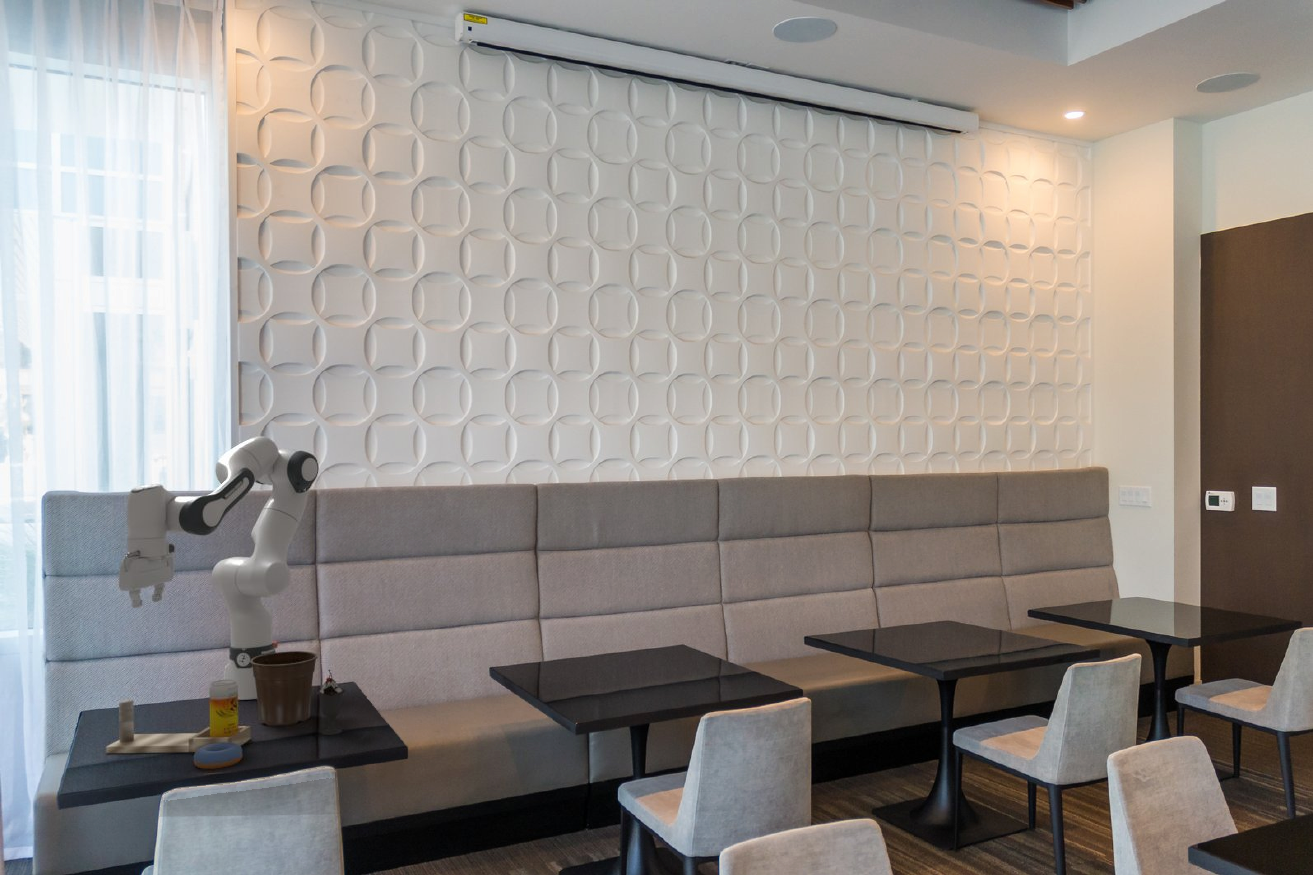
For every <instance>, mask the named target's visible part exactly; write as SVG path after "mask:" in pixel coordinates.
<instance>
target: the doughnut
mask: <svg viewBox="0 0 1313 875" xmlns="http://www.w3.org/2000/svg"><path fill="white" fill-rule="evenodd" d="M243 756H244V755H243V748H242V745H241V746H240V745H238V744H236V743H230V742H223V743H214V744H210V745H206V746H204V747H201V748H199V749H198V750H197V751H196V752H194V755H193V764H194V765H195V767H197V768H199V769H202V770H213V769H214V770H216V769H223V768H228V767H231V766H233V765H236V764H238V763H239V762H240V761H241V760H242V759H243Z"/></svg>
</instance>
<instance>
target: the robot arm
mask: <svg viewBox="0 0 1313 875" xmlns="http://www.w3.org/2000/svg"><path fill="white" fill-rule="evenodd" d="M318 475H319V463H318V459H317V458H316V456H315V455H314V454H312V453H310V452H308V451H304V450H295V449H289V448H288V449H287V448H281V449H280V448H279V449H278V446H277V444H276V443H275V441H273V440H272V439H270V438H269V437H266V436H263V435H260V436H259V435H258V436H254V437H251V438H249V439H247V440H245V441H243V442H241V443H239V444H238V445H236V446H234V447H233V448H232V449H230V450H228V451H227V452H225V454H223V455H222V456H221V457H220V458H219V459H218V461H217V462H216V464H215V476H216V478H217V480H218V482H219V483H220V484H219V486H218V487H217V488H216V489H215V490H214V491H213V492H211V493H210V494H206V495H200V496H199V495H197V496H183V495H182V496H181V495H180V496H179V495H177V494H174V493H173V492H170V491H168V490H167V489H166V488H164V486H163V485H162V484H158V483H150V484H142V485H138V486H135V487H134V488H132V489H131V490H130V492H129V494H128V498H127V504H126V523H127V526H128V533H127V536H126V553H125V556H124V557H123V560H122V561H121V563H120V565H119V566H120V567H119V576H118V588H119V590H120V591H121V592H129V593H128V595H129V598H130V599H131V603H132V604H131V606H132V608H137V609H138V608H141V607H143V599H142V598H141V593H142V592H141V591H142V590H141V589H145V588H149V587H153V588H154V591H153V594H152V595H151V598H152V599H151V601H152V602H153V603H158V602H161V601H162V600H163V592H164V589H165V585H166V584H165V583H168V582H171V581H173V578H174V576H175V567H176V566H175V555H174V554H175V553H176V550H177V546H176V544H174V543H172V542H170V541H168V540H167V534H179V535H180V534H183V535H184V534H187V535H189V534H190V535H194V536H195V535H196V536H207V535H210V534H212V533H214V532H215V531H216V530H217V529H218V528H219V526H220V525H221V523H222V521H223V519H225V516H226V515H227V514H228V512H230V510H231V509H233V508H234V507H235V505H237V504H238V503H239V502H240V501H241V500H242V499H243V498H244V497H245V496H246V495H247V494H248V493H249V492H250V491H251V489H252V488H253V486H254V485H255V483H256V484H259V485H268V486H272V489H271V490H272V491H271V495H270V496H269V498H268V500H267V502H266V503H265V505H264V506H263V509H262V510H261V512H260V514H259V516H258V518H257V520H256V523H255V524H254V526H253V528H252V530H251V534H250V535H251V539H252V541H253V542H254V549H253V553H252V555H251V556H249V557H247V556H246V557H245V556H232V557H229V558H225V559H221V560H220V561H218V562H217V563H216V564H215V565H214V567H213V569H212V572H211V582H212V585H213V587H214V588H215V589H216V590H217V591H218V592H219V593H220V594H221V596H222V598H223V601H224V603H225V606H226V609H227V611H228V616H229V623H230V627H229V628H230V646H229V648H228V649H229V650H228V657H229V658H228V659H229V662H228V663H227V664H226V665H225V666H224V673H223V674H224V675H223V680H228V679H230V680H236V683H237V685H238V701H244V700H246V701H247V700H257V692H256V683H255V677H254V676H253V667H252V664H251V663H250V660H251V659H252V658H254V657H257V656H260V655H264V654H270V653H277V652H276V649H277V648H278V647H279V644H278V643H279V642H278V641H273V637H274V636H273V615H272V613H270V611H269V610H267V608H266V607H265V605H264V603H263V600H262V598H270V597H276V596H280V595H283V593H285V592H286V591H287V590H288V588H289V587H290V585H291V583H292V582H291V581H292V572H291V569H290V567H289V565H288V563H287V558H288V552H289V547H290V544H291V542H292V540H293V538H294V535H295V534H296V531H297V529H298V527H299V525H300V523H301V521H302V517H303V515H304V512H305V510H306V506H307V501H308V493H307V491H309V489H311V488H312V485H313V484H314V483H315V481H316V479H317V477H318Z"/></svg>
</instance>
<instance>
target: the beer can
mask: <svg viewBox="0 0 1313 875" xmlns="http://www.w3.org/2000/svg"><path fill="white" fill-rule="evenodd" d="M238 726H239V700H238V685H237V683H236V680H230V679H228V680H224V679H219V680H215V681H212V682H211V685H210V686H209V727H210V737H231V736H232V735H234V734H235V733H237V732H238Z"/></svg>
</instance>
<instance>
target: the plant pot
mask: <svg viewBox="0 0 1313 875" xmlns="http://www.w3.org/2000/svg"><path fill="white" fill-rule="evenodd" d="M317 659H318V654H317V653H315V652H310V651H302V650H301V651H300V650H298V651H297V650H296V651H295V650H294V651H293V650H292V651H279V652H276V653H270V654H264V655H260V656H257V657H254V658H252V659H251V660H250V663H251V664H252V667H253V676H254V677H255V683H256V692H257V699H256V701H257V708H258V710H257V711H258V721H259V723H260V724H261V725H266V726H267V725H268V726H269V727H278V726H279V727H281V725H282V726H288V725H289V726H291V725H296V724H297V723H299V722H305V721H307V720H308V719H310V717H311V702H312V701H311V700H312V688H313V678H314V673H315V671H316V661H317ZM290 724H291V725H290ZM268 726H267V727H268Z"/></svg>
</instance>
